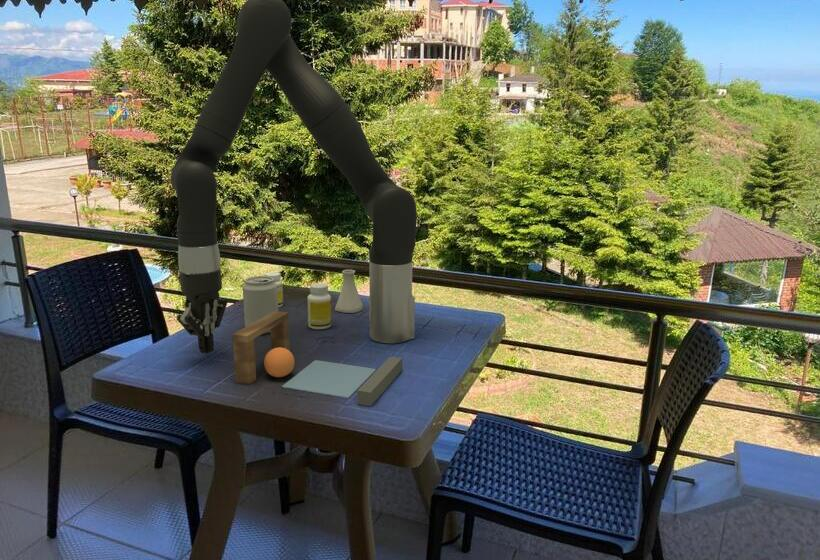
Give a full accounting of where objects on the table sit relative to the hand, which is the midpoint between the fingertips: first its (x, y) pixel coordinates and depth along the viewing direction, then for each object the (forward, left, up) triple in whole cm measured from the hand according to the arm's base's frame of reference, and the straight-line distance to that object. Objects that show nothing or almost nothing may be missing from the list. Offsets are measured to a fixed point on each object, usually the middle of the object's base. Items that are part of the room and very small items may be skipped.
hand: (206, 352), depth 120 cm
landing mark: (-22, +15, -2) cm, 27 cm away
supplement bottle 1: (-15, -33, -2) cm, 37 cm away
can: (-11, -15, -2) cm, 19 cm away
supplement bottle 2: (-24, -14, -2) cm, 28 cm away
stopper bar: (-30, +21, -2) cm, 37 cm away
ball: (-13, +12, +1) cm, 18 cm away
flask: (-33, -25, -2) cm, 42 cm away
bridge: (-11, +7, -2) cm, 13 cm away
